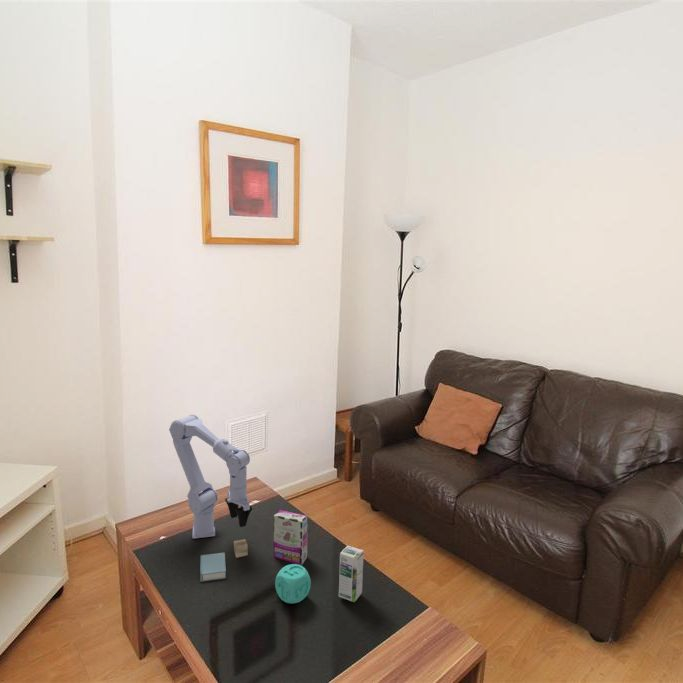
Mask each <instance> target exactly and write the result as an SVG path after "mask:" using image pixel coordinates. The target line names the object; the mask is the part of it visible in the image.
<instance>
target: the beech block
mask: <svg viewBox="0 0 683 683" xmlns="http://www.w3.org/2000/svg"><path fill="white" fill-rule="evenodd" d="M248 551H249V545H248V542H247V540H246V539H245V538H244V539H243V538H242V539H238V540H234V541H233V553H234V555H235V558H236V559H237V558H241V557H245V556H248V555H249V553H248Z"/></svg>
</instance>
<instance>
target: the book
mask: <svg viewBox="0 0 683 683" xmlns="http://www.w3.org/2000/svg"><path fill="white" fill-rule="evenodd" d="M225 555H226V553H225V552H218V553H210V554H209V553H207V554H200V560H199V561H200V565H199V566H200V567H199V568H200V570H199V572H200V574H199V576H200V578H199V579H200V581H199V582H200V583H202V582H209V581H216V580H224V579H227V576H226V575H227V569H226V565H227V564H226V556H225Z"/></svg>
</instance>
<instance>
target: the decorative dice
mask: <svg viewBox="0 0 683 683" xmlns="http://www.w3.org/2000/svg"><path fill="white" fill-rule="evenodd" d="M310 576H311V575H310V574H309V572H308V570H307V569H306V568H305V567H304V566H303V565H298V564H295V563H292V564H287V565H285V566H283V567H282V568H280V570H279V571H278V573H277V575H276V577H275V581H274V587H275V591H276V594H277V595H278V598H280V600H281V601H282V602H284V603H287V604H297V603H300V602H301V601H303V600H304V599H306V597H307V596H308V595H309V593H310V589H311V584H312V580H311V577H310Z"/></svg>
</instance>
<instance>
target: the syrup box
mask: <svg viewBox="0 0 683 683" xmlns="http://www.w3.org/2000/svg"><path fill="white" fill-rule="evenodd" d="M363 571H364V549H361V548H360V549H359V548H357V547H354V546H350V545H346V546H345V548H343V549H342V551H341V552H339V578H338V580H339V581H338V583H339V584H338V597H339V598H341V599H344V600H348V601H349V602H353V603H355V602H356V601H357V600H358V598H359V597H360V596H361V594H362V593H363V580H364V578H363V574H364V572H363Z"/></svg>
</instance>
